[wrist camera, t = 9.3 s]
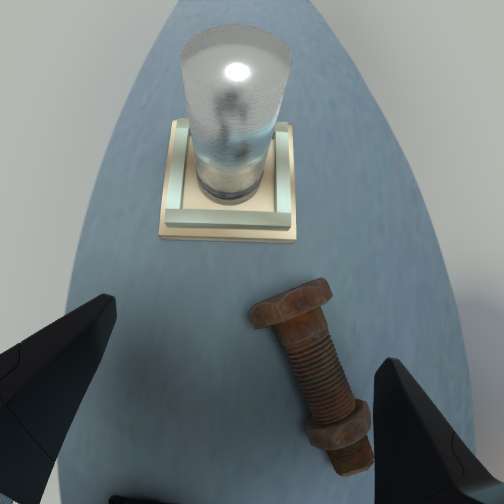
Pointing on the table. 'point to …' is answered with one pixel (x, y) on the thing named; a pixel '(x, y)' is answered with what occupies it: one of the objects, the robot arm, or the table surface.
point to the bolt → (320, 375)
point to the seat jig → (235, 216)
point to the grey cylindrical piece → (233, 106)
